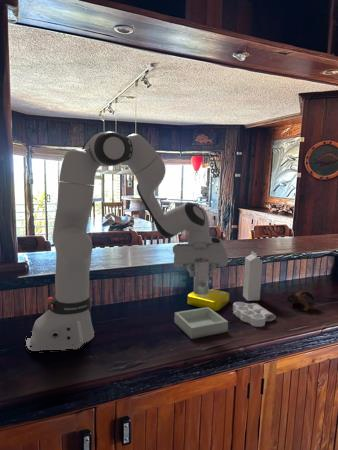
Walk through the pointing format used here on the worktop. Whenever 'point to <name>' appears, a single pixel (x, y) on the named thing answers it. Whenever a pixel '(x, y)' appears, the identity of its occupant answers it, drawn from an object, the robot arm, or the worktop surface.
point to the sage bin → (200, 322)
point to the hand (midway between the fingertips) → (201, 276)
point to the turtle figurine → (301, 299)
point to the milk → (252, 277)
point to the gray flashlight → (201, 276)
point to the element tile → (209, 299)
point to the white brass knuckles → (252, 313)
